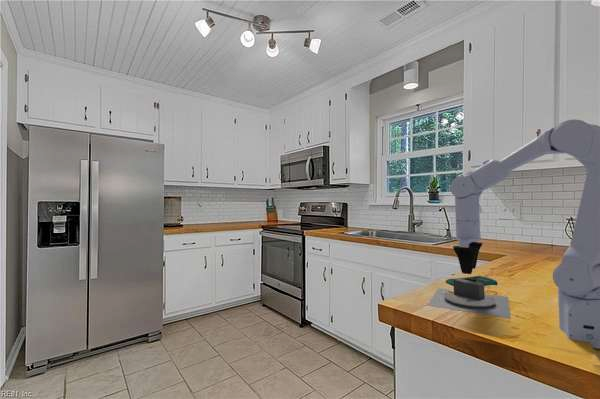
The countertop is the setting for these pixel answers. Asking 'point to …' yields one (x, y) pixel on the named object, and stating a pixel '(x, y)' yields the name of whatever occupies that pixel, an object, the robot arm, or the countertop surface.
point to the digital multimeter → (476, 280)
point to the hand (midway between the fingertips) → (468, 270)
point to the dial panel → (497, 310)
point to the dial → (469, 294)
